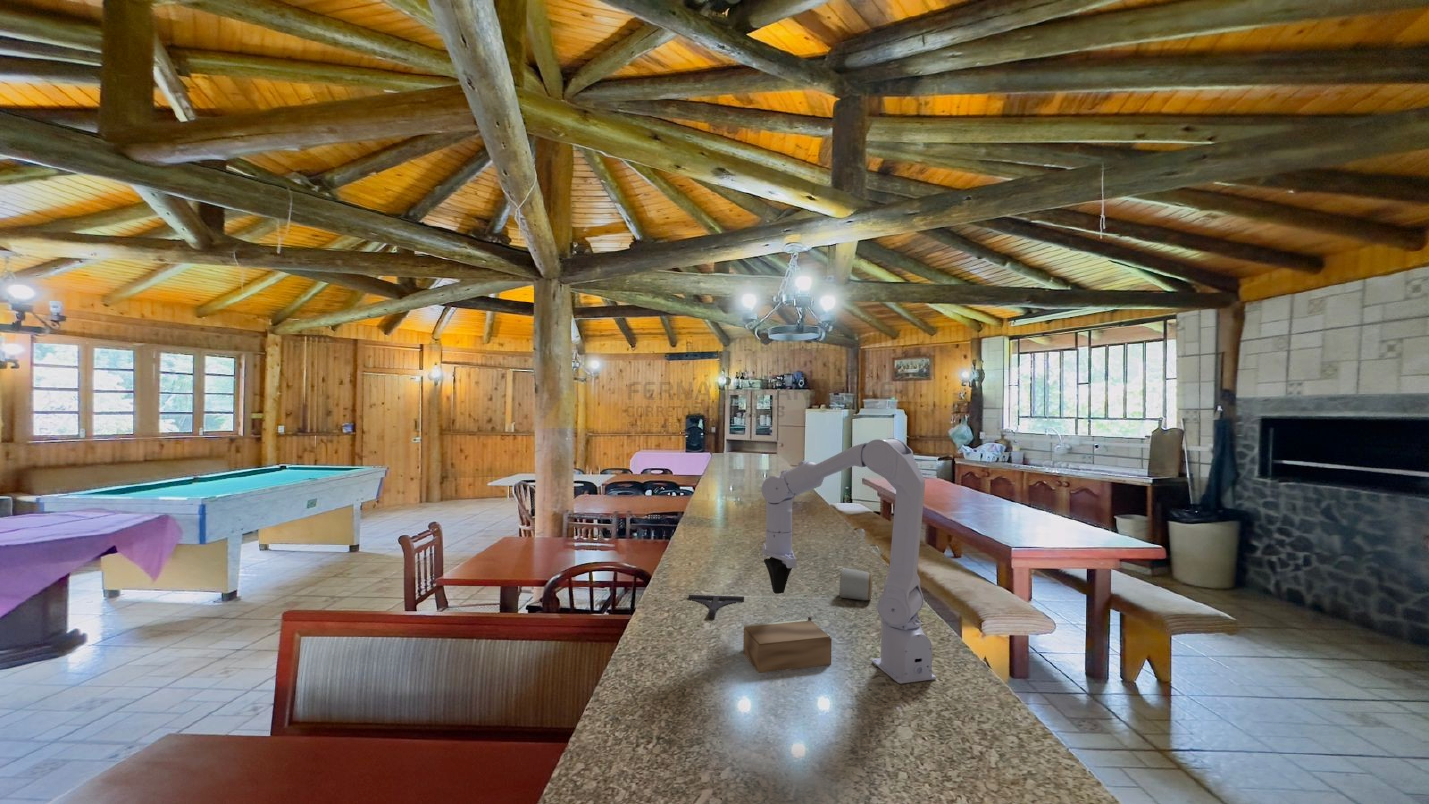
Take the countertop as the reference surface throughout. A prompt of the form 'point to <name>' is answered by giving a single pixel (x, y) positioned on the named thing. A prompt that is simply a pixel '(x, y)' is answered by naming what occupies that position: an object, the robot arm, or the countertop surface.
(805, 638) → the cabinet
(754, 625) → the door
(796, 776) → the countertop surface
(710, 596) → the bracket
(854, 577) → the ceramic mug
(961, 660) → the countertop surface
